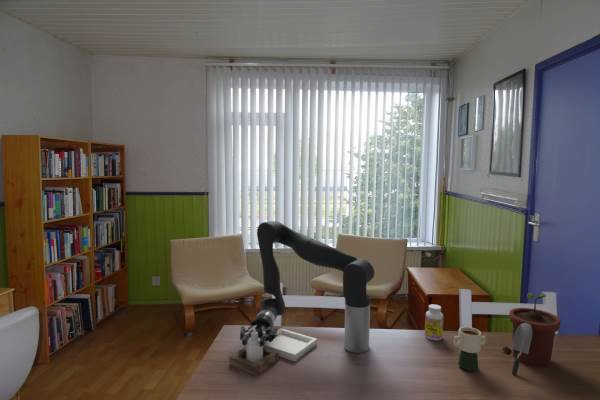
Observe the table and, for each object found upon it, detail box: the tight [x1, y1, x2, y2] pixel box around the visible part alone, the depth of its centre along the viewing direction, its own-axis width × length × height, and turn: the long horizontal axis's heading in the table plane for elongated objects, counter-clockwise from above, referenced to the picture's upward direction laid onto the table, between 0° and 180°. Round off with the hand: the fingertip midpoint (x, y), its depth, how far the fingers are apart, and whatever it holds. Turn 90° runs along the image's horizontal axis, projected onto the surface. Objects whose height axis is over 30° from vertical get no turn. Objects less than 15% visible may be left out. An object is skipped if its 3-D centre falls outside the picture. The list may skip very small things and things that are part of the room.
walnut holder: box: [228, 346, 279, 376], centre depth 139 cm, size 12×12×3 cm
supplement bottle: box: [424, 303, 444, 341], centre depth 159 cm, size 7×7×13 cm
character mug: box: [452, 326, 487, 371], centre depth 136 cm, size 11×7×13 cm, turn 91°
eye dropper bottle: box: [245, 329, 263, 363], centre depth 138 cm, size 4×6×12 cm
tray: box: [263, 328, 318, 362], centre depth 151 cm, size 15×17×2 cm
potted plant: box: [502, 292, 562, 375], centre depth 141 cm, size 18×22×25 cm
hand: (252, 343), depth 136 cm, fingers closed on eye dropper bottle, 5 cm apart
